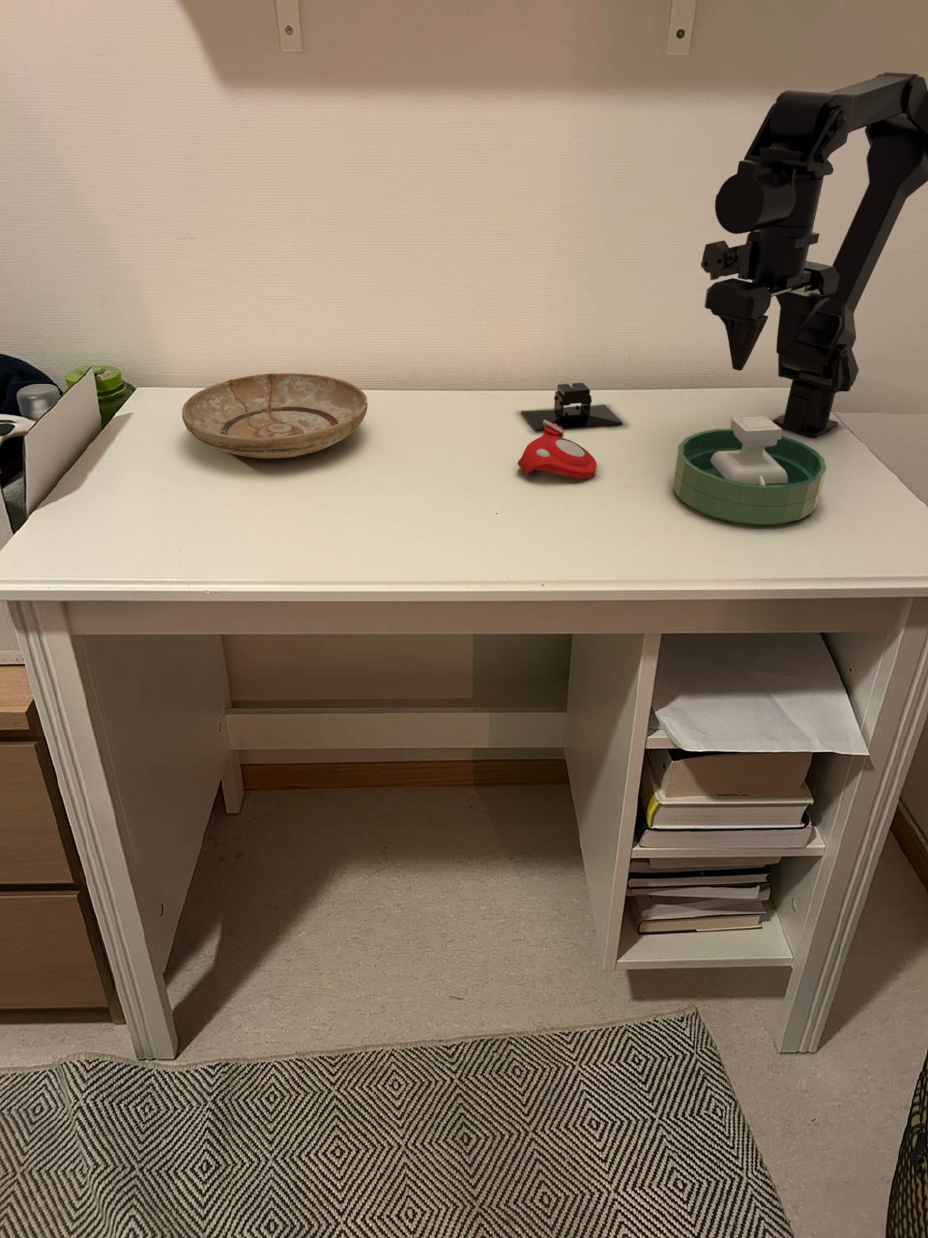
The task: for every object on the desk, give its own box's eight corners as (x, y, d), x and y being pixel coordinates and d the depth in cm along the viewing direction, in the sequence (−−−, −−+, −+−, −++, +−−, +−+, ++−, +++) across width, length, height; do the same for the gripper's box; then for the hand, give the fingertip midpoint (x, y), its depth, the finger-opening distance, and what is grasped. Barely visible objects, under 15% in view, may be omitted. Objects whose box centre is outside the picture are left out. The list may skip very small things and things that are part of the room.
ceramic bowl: (347, 397, 131) (345, 363, 128) (388, 463, 113) (387, 425, 110) (180, 414, 125) (174, 379, 122) (195, 487, 107) (188, 447, 104)
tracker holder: (616, 465, 110) (554, 465, 105) (600, 495, 113) (539, 496, 107) (560, 411, 117) (500, 408, 111) (547, 441, 120) (487, 439, 114)
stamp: (788, 506, 103) (804, 436, 99) (732, 510, 102) (746, 439, 98) (755, 472, 111) (768, 405, 106) (702, 475, 110) (714, 408, 105)
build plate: (604, 407, 130) (607, 375, 127) (623, 426, 124) (628, 393, 121) (520, 413, 127) (522, 380, 125) (536, 433, 121) (539, 399, 119)
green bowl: (725, 455, 116) (732, 418, 113) (842, 499, 106) (853, 459, 103) (644, 492, 107) (649, 452, 104) (764, 544, 97) (773, 501, 94)
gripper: (770, 202, 111) (746, 331, 120) (675, 220, 101) (657, 360, 110) (855, 216, 104) (823, 352, 113) (763, 237, 94) (736, 385, 103)
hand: (759, 361), depth 110 cm, fingers open, 9 cm apart
